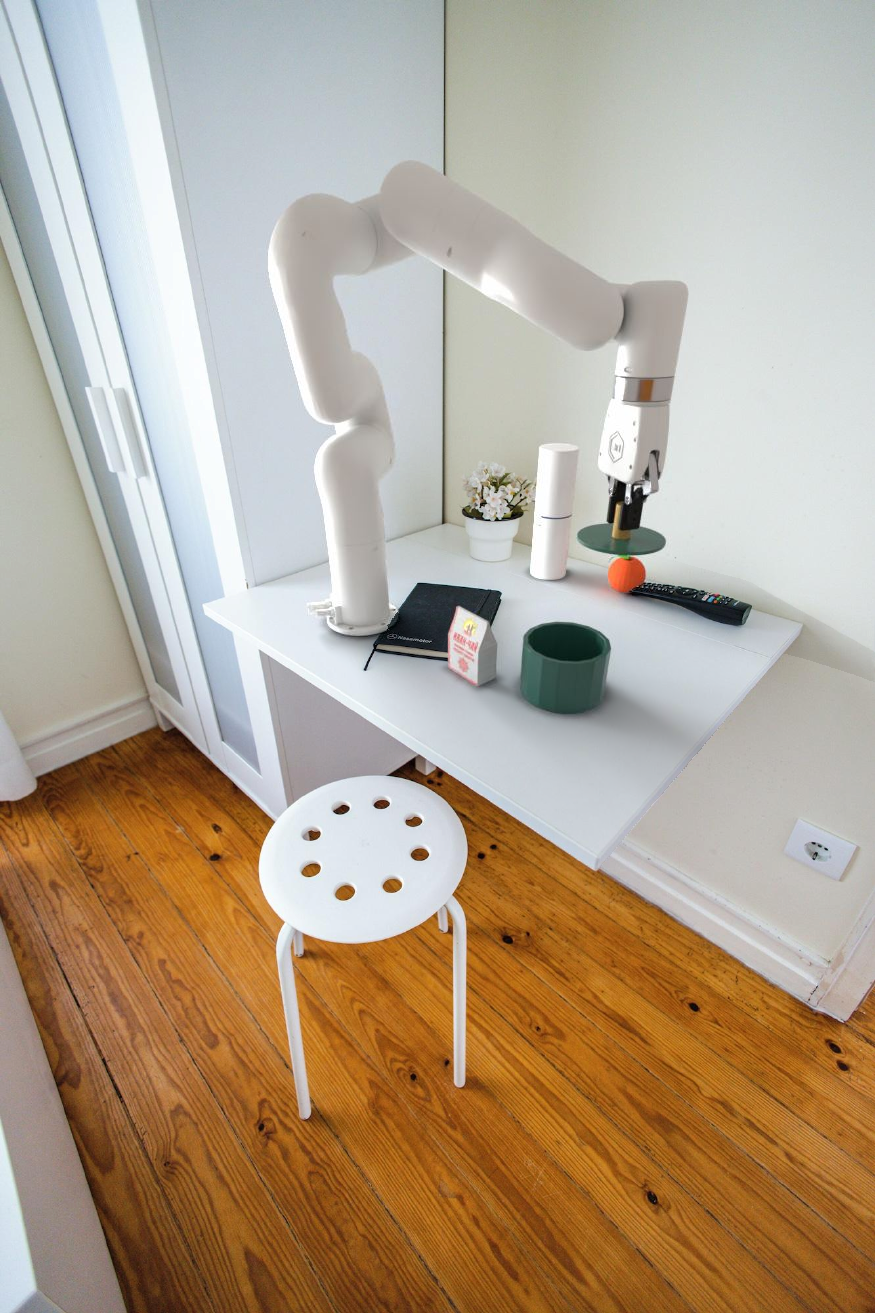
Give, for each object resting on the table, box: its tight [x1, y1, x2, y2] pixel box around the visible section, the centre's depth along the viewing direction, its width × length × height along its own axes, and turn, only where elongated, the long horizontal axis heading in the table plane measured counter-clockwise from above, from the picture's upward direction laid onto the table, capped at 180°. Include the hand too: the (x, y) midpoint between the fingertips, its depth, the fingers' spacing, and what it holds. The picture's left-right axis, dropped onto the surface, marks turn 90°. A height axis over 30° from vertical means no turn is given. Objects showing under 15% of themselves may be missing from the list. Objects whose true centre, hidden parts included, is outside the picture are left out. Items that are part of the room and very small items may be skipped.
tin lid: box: [576, 501, 667, 557], centre depth 88 cm, size 13×13×6 cm
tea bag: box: [447, 605, 498, 687], centre depth 88 cm, size 4×7×10 cm, turn 38°
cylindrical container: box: [530, 442, 580, 581], centre depth 117 cm, size 7×7×25 cm
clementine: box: [607, 555, 647, 594], centre depth 114 cm, size 8×7×7 cm
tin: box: [519, 621, 612, 715], centre depth 85 cm, size 12×12×8 cm
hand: (622, 524), depth 88 cm, fingers closed on tin lid, 2 cm apart
